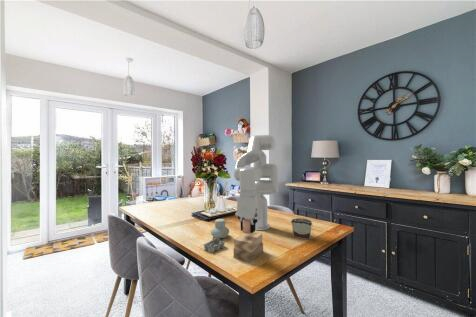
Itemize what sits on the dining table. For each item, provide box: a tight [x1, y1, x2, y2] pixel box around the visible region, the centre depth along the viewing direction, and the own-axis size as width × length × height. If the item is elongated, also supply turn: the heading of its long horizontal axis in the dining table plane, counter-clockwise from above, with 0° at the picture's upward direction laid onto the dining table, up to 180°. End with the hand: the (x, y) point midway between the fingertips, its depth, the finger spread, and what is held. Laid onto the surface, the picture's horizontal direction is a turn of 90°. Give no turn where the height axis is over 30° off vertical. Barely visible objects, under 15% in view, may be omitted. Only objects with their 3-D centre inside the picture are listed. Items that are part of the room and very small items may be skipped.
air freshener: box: [210, 218, 230, 239], centre depth 134 cm, size 11×8×10 cm
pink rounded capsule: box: [242, 218, 251, 234], centre depth 109 cm, size 5×5×6 cm
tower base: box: [233, 242, 264, 263], centre depth 110 cm, size 9×13×4 cm
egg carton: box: [202, 237, 225, 253], centre depth 118 cm, size 11×8×4 cm
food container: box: [290, 217, 313, 240], centre depth 132 cm, size 12×6×10 cm, turn 59°
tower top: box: [233, 232, 263, 253], centre depth 110 cm, size 9×13×4 cm
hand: (247, 230), depth 109 cm, fingers closed on pink rounded capsule, 5 cm apart
